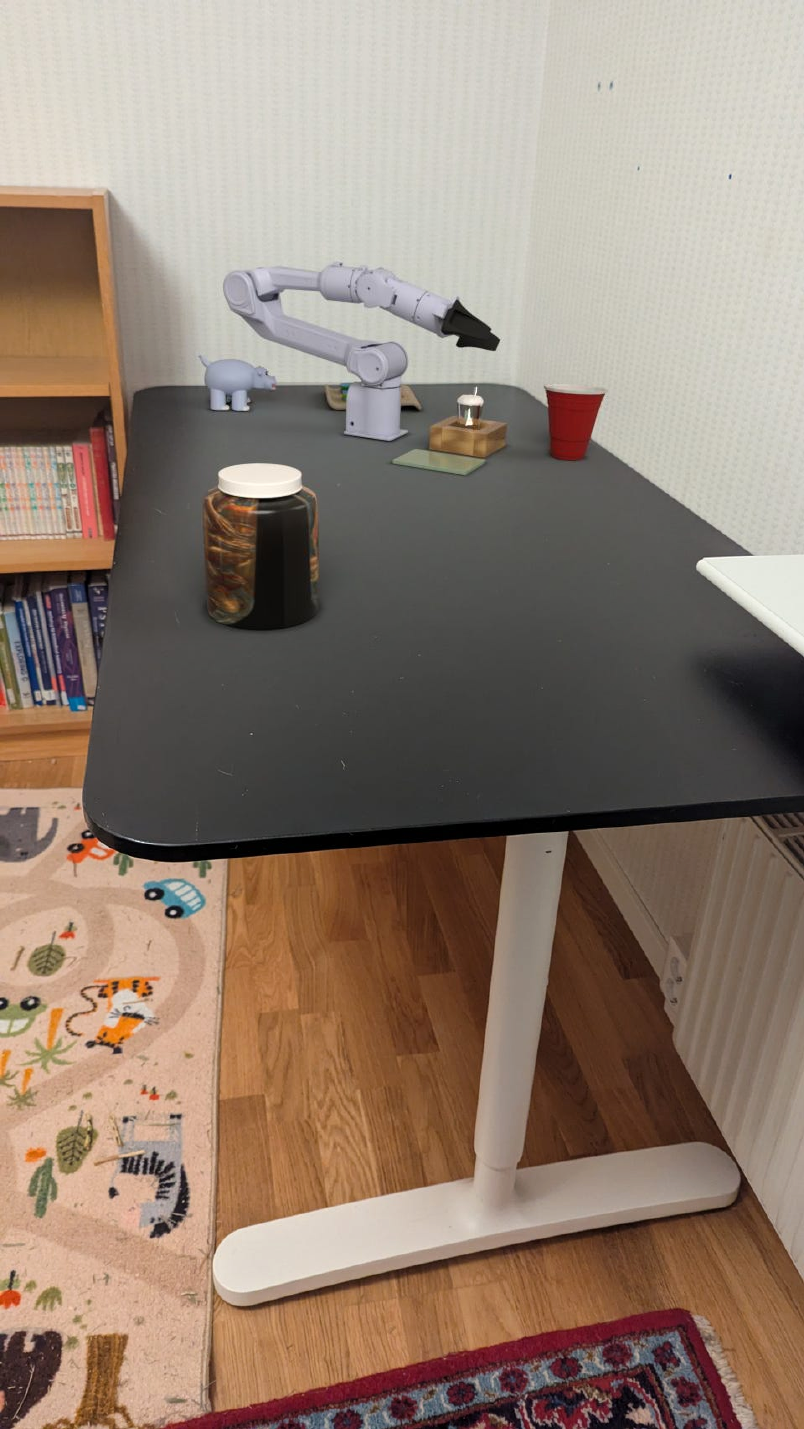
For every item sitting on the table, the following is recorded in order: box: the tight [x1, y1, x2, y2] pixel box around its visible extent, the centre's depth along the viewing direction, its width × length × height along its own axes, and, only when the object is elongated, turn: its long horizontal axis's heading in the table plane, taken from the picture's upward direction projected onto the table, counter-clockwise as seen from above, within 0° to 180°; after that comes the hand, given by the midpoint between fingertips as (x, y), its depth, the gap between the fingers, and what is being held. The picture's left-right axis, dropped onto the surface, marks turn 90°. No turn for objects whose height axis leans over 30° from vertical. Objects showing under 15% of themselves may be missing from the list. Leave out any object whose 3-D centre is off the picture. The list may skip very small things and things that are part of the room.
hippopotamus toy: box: [197, 354, 278, 412], centre depth 199 cm, size 11×15×10 cm
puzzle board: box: [323, 381, 422, 411], centre depth 209 cm, size 18×19×3 cm
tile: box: [392, 448, 486, 476], centre depth 169 cm, size 13×9×1 cm
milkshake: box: [456, 386, 485, 430], centre depth 177 cm, size 5×5×10 cm
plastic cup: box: [543, 383, 609, 461], centre depth 174 cm, size 11×11×12 cm
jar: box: [202, 462, 320, 630], centre depth 107 cm, size 12×12×15 cm
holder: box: [428, 415, 508, 459], centre depth 178 cm, size 10×10×4 cm
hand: (493, 340), depth 169 cm, fingers open, 7 cm apart
